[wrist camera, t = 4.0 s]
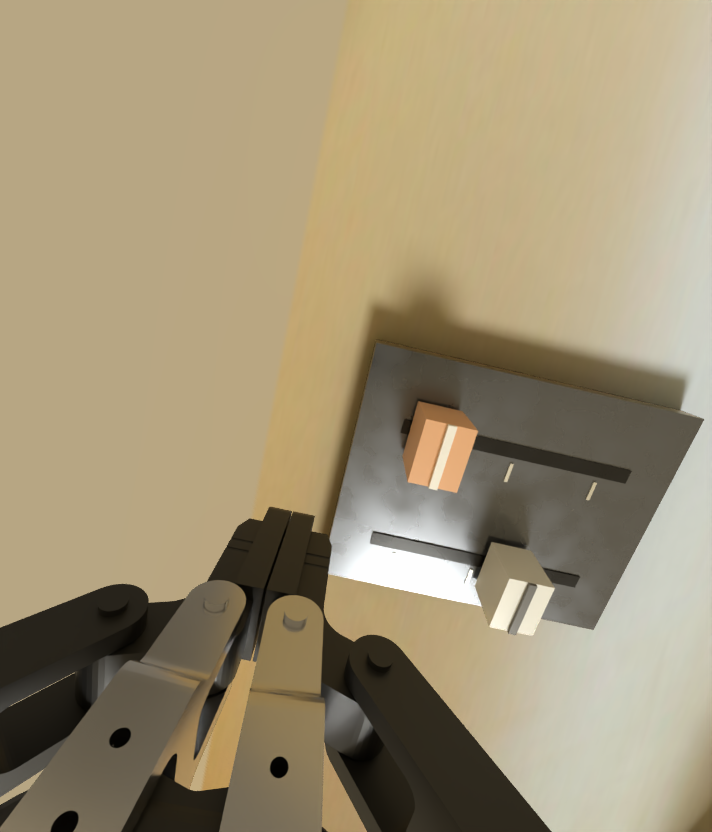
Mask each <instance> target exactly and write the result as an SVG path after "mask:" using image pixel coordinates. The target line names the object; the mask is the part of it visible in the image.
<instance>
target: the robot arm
mask: <svg viewBox="0 0 712 832" xmlns="http://www.w3.org/2000/svg"><path fill="white" fill-rule="evenodd" d="M291 513H292V511H289V510H284V509H279V508H274V507H269V509H268V511H267V513H266V515H265V517H264V520H263V521H259V520H254V519H248V520H247V521H245V522H244V523H242V524H241V525H239V526H238V527H237V529H236V531H235V532H234V534H233V536H232V538H231V540H230V541H229V543H228V545H227V547H226V549H225V550H224V552H223V554H222V556H221V557H220V559H219V561H218V563H217V565H216V566H215V568H214V570H213V572H212V574H211V575H210V577H209V579H208V581H207V582H205V583H203V584H200V585H198V586H197V587H195V588H194V589H193V590H192V591H191V592H190V593H189V594H188V596H187V597H186V598H184V599H181V600H177V601H170V602H155V603H148V596H147V594H146V593H145V592H144V591H143V590H142V589H141V588H139V587H137V586H134V585H128V584H116V585H110V586H106V587H104V588H100V589H98V590H95V591H93V592H90V593H88V594H85V595H83V596H80V597H78V598H75V599H72V600H70V601H68V602H65V603H62V604H60V605H57V606H55V607H52V608H49V609H47V610H45V611H42V612H39V613H37V614H34V615H32V616H30V617H26V618H24V619H21V620H19V621H16V622H14V623H11V624H9V625H6V626H3V627H1V628H0V797H1V796H3V795H4V794H6V793H7V792H9V791H10V790H12V789H13V788H15V787H16V786H18V785H20V784H21V783H23V782H24V781H26V780H27V779H29V778H30V777H32V776H33V775H35V774H37V773H38V772H40V771H41V770H43V769H44V768H45V769H44V770H43V771H42V773H41V774H40V775H39V777H38V778H37V780H36V781H35V782H34V784H33V785H32V786H31V787H30V789H29V790H27V791H25V792H23V793H21V794H19V795H17V796H15V797H13V798H12V799H10V800H8V801H7V802H5V803H3V804H1V805H0V832H327V831H326V830H325V829H324V828H323V827H322V799H323V764H324V742H325V747H326V752H327V755H328V757H329V760H330V762H331V763H332V765H333V767H334V769H335V771H336V773H337V775H338V777H339V779H340V781H341V783H342V784H343V786H344V788H345V790H346V792H347V794H348V796H349V798H350V800H351V802H352V803H353V805H354V807H355V809H356V811H357V813H358V815H359V817H360V819H361V821H362V822H363V824H364V826H365V828H366V830H367V832H551V831H550V829H549V828H548V827H547V826H546V825H545V823H544V822H543V821H542V820H541V818H540V817H539V816H538V815H537V814H536V812H535V811H534V810H533V809H532V808H531V806H530V805H529V804H528V803H527V802H526V800H525V799H524V798H523V797H522V795H521V794H520V793H519V792H518V791H517V789H516V788H515V787H514V786H513V785H512V783H511V782H510V781H509V780H508V779H507V777H506V776H505V775H504V774H503V772H502V771H501V770H500V769H499V768H498V766H497V765H496V764H495V763H494V762H493V760H492V759H491V758H490V757H489V755H488V754H487V753H486V752H485V751H484V749H483V748H482V747H481V746H480V745H479V743H478V742H477V741H476V740H475V739H474V737H473V736H472V735H471V734H470V732H469V731H468V730H467V729H466V728H465V726H464V725H463V724H462V723H461V722H460V720H459V719H458V718H457V717H456V715H455V714H454V713H453V712H452V711H451V709H450V708H449V707H448V706H447V705H446V703H445V702H444V701H443V700H442V699H441V697H440V696H439V695H438V694H437V692H436V691H435V690H434V689H433V688H432V686H431V685H430V684H429V683H428V682H427V680H426V679H425V678H424V677H423V676H422V674H421V673H420V672H419V671H418V669H417V668H416V667H415V666H414V665H413V663H412V662H411V661H410V660H409V659H408V657H407V656H406V655H405V654H404V652H403V651H402V650H401V649H400V648H399V647H398V646H397V645H396V644H395V643H394V642H392V641H391V640H389V639H387V638H385V637H382V636H378V635H366V636H363V637H361V638H359V639H357V640H356V641H355V642H353V641H351V640H349V639H348V638H346V637H344V636H342V635H340V634H339V633H337V632H336V631H335V630H334V629H333V628H332V627H331V626H330V625H329V623H328V622H327V620H326V618H325V615H324V600H325V593H326V586H327V579H328V572H329V565H330V558H331V550H332V545H331V542H330V540H329V538H328V535H326V534H321V533H317V532H312V526H313V522H314V517H315V516H313V515H308V514H303V513H298V512H294V511H293V513H292V516H291ZM256 641H257V642H256ZM255 645H256V648H255ZM254 648H255V653H254V658H253V661H255V662H256V666H255V671H254V676H253V680H252V685H251V688H250V692H249V696H248V701H247V706H246V710H245V715H244V719H243V724H242V729H241V733H240V738H239V742H238V747H237V752H236V756H235V761H234V765H233V770H232V775H231V779H230V784H229V787H227V788H219V789H212V790H204V791H192V790H190V786H191V783H192V780H193V777H194V774H195V772H196V769H197V766H198V764H199V762H200V759H201V757H202V755H203V752H204V750H205V748H206V746H207V743H208V741H209V739H210V736H211V734H212V732H213V729H214V727H215V725H216V722H217V720H218V718H219V715H220V713H221V711H222V708H223V706H224V704H225V701H226V699H227V697H228V694H229V692H230V689H231V686H232V680H233V679H234V677H235V675H236V672H237V669H238V666H239V664H240V661H241V659H244V660H249V661H250V660H251V657H252V654H253V651H254ZM74 672H75V673H74ZM72 673H74V674H72ZM70 674H72V675H70ZM68 675H70V676H68ZM66 676H68V677H66ZM64 677H66V678H64ZM62 678H64V679H62ZM61 679H62V680H61ZM59 680H60V681H59ZM57 681H58V682H57ZM55 682H56V683H55ZM53 683H55V684H53ZM51 684H53V685H51ZM49 685H51V686H49ZM47 686H49V687H47ZM45 687H47V688H45ZM43 688H45V689H43ZM41 689H43V690H41ZM39 690H41V691H39ZM37 691H39V692H37ZM35 692H37V693H35ZM33 693H35V694H33ZM31 694H33V695H31ZM29 695H31V696H30V697H28V696H29ZM26 697H27V698H26ZM24 698H26V699H24ZM22 699H24V700H22ZM20 700H22V701H20ZM18 701H20V702H18ZM16 702H18V703H16ZM14 703H16V704H14ZM12 704H14V705H12ZM11 705H12V706H11ZM9 706H10V707H9Z"/></svg>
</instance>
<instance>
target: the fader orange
mask: <svg viewBox="0 0 712 832" xmlns="http://www.w3.org/2000/svg"><path fill="white" fill-rule="evenodd" d="M477 433H478V430H477V429H476V427H475V426H474V425H473V424H472V422H471V421H470V420H469V419H468V417H467V416H466V415H465V414H464V412H463V411H459V410H455V409H450V408H446V407H442V406H437V405H433V404H429V403H424V402H420V401H418V404H417V407H416V411H415V414H414V418H413V421H412V425H411V428H410V432H409V435H408V439H407V442H406V446H405V449H404V453H403V456H402V457H403V462H404V467H405V472H406V477H407V482H409V483H414V484H419V485H423V486H428V488H429V489H433V490H437V489H441V490H446V491H450V492H455V493H457V491H458V488H459V485H460V482H461V480H462V477H463V474H464V471H465V468H466V465H467V462H468V459H469V456H470V453H471V450H472V447H473V445H474V442H475V439H476V436H477Z"/></svg>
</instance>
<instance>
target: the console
mask: <svg viewBox="0 0 712 832" xmlns="http://www.w3.org/2000/svg"><path fill="white" fill-rule="evenodd" d="M418 401H420V402H424V403H429V404H433V405H437V406H442V407H446V408H450V409H455V410H459V411H463V412H464V414H465V415H466V416H467V417H468V419H469V420H470V421H471V422H472V424H473V425H474V426H475V427H476V429H477V430H478V433H477V436H476V439H475V442H474V445H473V447H472V450H471V453H470V456H469V459H468V462H467V465H466V468H465V471H464V474H463V477H462V480H461V482H460V485H459V488H458V491H457V493H455V492H450V491H446V490H441V489H437V490H433V489H429V488H428V486H423V485H419V484H414V483H409V482H407V477H406V472H405V467H404V462H403V457H402V456H403V453H404V449H405V446H406V442H407V439H408V435H409V432H410V428H411V425H412V421H413V418H414V414H415V411H416V407H417V404H418ZM703 421H704V419H702V418H700V417H697V416H694V415H692V414H689V413H686V412H684V411H681V410H677V409H673V408H668V407H664V406H660V405H656V404H651V403H647V402H643V401H639V400H634V399H630V398H626V397H621V396H617V395H613V394H609V393H604V392H600V391H596V390H591V389H587V388H583V387H579V386H574V385H570V384H566V383H562V382H557V381H553V380H549V379H544V378H540V377H536V376H532V375H527V374H523V373H519V372H514V371H510V370H506V369H502V368H497V367H493V366H489V365H485V364H480V363H476V362H472V361H467V360H463V359H459V358H455V357H450V356H446V355H442V354H437V353H433V352H429V351H425V350H420V349H416V348H412V347H408V346H403V345H399V344H395V343H390V342H386V341H382V340H378V339H376V342H375V346H374V350H373V354H372V358H371V363H370V367H369V371H368V375H367V379H366V383H365V388H364V392H363V396H362V400H361V404H360V409H359V413H358V417H357V421H356V425H355V429H354V434H353V438H352V442H351V446H350V450H349V455H348V459H347V463H346V467H345V471H344V475H343V480H342V484H341V488H340V492H339V496H338V500H337V505H336V509H335V513H334V517H333V521H332V526H331V530H330V534H329V540H330V542H331V545H332V550H331V558H330V565H329V572H328V574H331V575H336V576H340V577H345V578H350V579H355V580H359V581H364V582H369V583H374V584H378V585H383V586H388V587H393V588H397V589H402V590H407V591H412V592H416V593H421V594H426V595H431V596H435V597H440V598H445V599H450V600H454V601H459V602H464V603H468V604H473V605H478V606H482V605H481V603H480V600H479V597H478V594H477V591H476V589H475V584H476V581H477V578H478V576H479V573H480V571H481V568H482V566H483V563H484V561H485V558H486V555H487V553H488V550H489V548H490V545H491V543H492V542H494V543H498V544H503V545H508V546H512V547H517V548H521V549H526V550H531V551H532V553H533V554H534V556H535V557H536V559H537V560H538V562H539V564H540V565H541V567H542V568H543V570H544V572H545V573H546V575H547V576H548V578H549V580H550V581H551V583H552V584H553V586H554V587H555V589H554V591H553V593H552V596H551V598H550V600H549V602H548V604H547V606H546V608H545V611H544V613H543V615H542V617H541V619H544V620H549V621H554V622H559V623H563V624H568V625H573V626H578V627H582V628H587V629H592V630H594V628H595V626H596V624H597V622H598V620H599V618H600V616H601V614H602V612H603V611H604V609H605V607H606V605H607V603H608V601H609V599H610V597H611V595H612V593H613V592H614V590H615V588H616V586H617V584H618V582H619V580H620V578H621V576H622V574H623V573H624V571H625V569H626V567H627V565H628V563H629V561H630V559H631V557H632V555H633V554H634V552H635V550H636V548H637V546H638V544H639V542H640V540H641V538H642V536H643V535H644V533H645V531H646V529H647V527H648V525H649V523H650V521H651V519H652V517H653V516H654V514H655V512H656V510H657V508H658V506H659V504H660V502H661V500H662V498H663V497H664V495H665V493H666V491H667V489H668V487H669V485H670V483H671V481H672V479H673V478H674V476H675V474H676V472H677V470H678V468H679V466H680V464H681V462H682V460H683V459H684V457H685V455H686V453H687V451H688V449H689V447H690V445H691V443H692V441H693V440H694V438H695V436H696V434H697V432H698V430H699V428H700V426H701V424H702V422H703Z"/></svg>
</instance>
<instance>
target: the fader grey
mask: <svg viewBox="0 0 712 832" xmlns="http://www.w3.org/2000/svg"><path fill="white" fill-rule="evenodd" d="M475 589H476V591H477V594H478V597H479V600H480V603H481V605H482V608H483V611H484V614H485V617H486V619H487V622H488V625H489V627H492V628H497V629H501V630H506V631H508V634H512V635H516V634H517V633H521V634H525V635H530V636H533V634H534V632H535V630H536V628H537V625H538V623H539V621H540V619H541V617H542V615H543V613H544V611H545V608H546V606H547V604H548V602H549V600H550V598H551V596H552V593H553V591H554V589H555V587H554V586H553V584H552V583H551V581H550V580H549V578H548V576H547V575H546V573H545V572H544V570H543V568H542V567H541V565H540V564H539V562H538V560H537V559H536V557H535V556H534V554H533V553H532V551H531V550H526V549H521V548H517V547H512V546H508V545H503V544H498V543H494V542H492V543H491V545H490V548H489V550H488V553H487V555H486V558H485V561H484V563H483V566H482V568H481V571H480V573H479V576H478V578H477V581H476V584H475Z"/></svg>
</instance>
